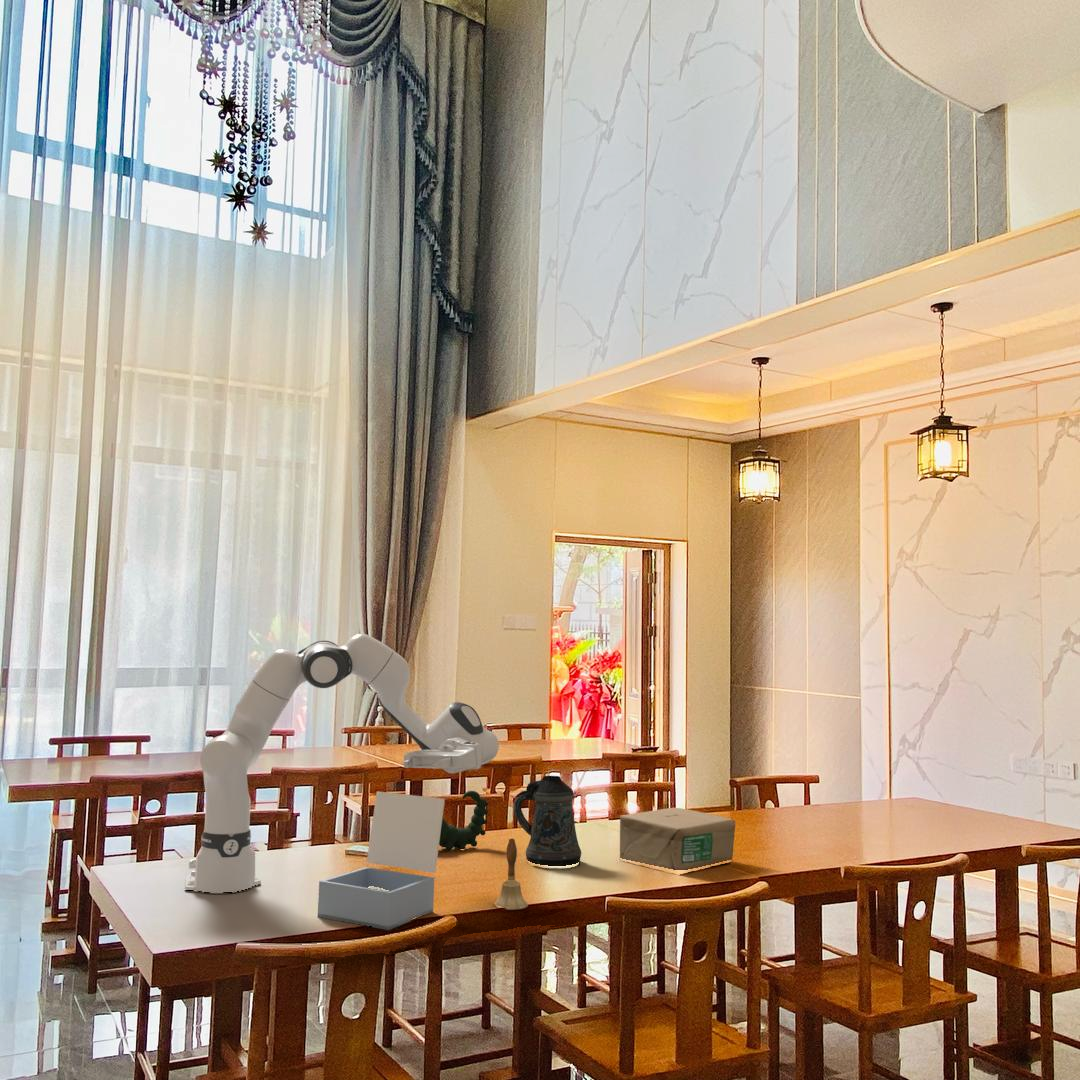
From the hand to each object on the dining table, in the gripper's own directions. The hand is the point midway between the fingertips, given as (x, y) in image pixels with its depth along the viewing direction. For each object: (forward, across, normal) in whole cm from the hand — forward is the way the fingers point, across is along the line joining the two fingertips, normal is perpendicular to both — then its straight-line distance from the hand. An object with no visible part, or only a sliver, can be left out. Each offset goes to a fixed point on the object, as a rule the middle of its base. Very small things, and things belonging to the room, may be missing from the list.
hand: (419, 764), depth 252 cm
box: (+18, -1, +32) cm, 36 cm away
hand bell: (-9, +18, +36) cm, 41 cm away
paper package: (-82, +26, +44) cm, 96 cm away
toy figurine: (-50, -35, +36) cm, 71 cm away
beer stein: (-55, -1, +39) cm, 67 cm away
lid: (+6, -1, +15) cm, 16 cm away
